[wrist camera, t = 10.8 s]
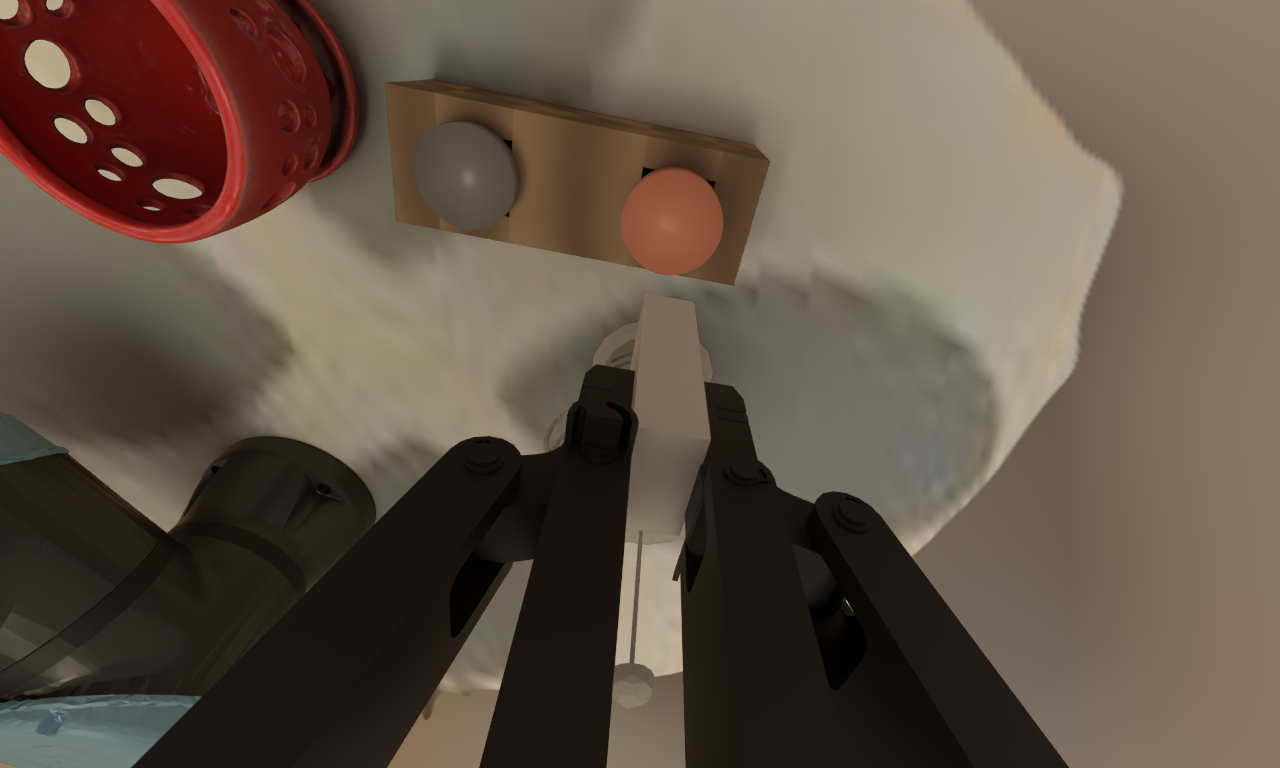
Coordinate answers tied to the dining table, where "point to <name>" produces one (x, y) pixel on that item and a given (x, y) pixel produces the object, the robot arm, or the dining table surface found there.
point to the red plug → (672, 221)
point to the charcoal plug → (466, 174)
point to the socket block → (573, 171)
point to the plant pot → (179, 108)
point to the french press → (629, 677)
